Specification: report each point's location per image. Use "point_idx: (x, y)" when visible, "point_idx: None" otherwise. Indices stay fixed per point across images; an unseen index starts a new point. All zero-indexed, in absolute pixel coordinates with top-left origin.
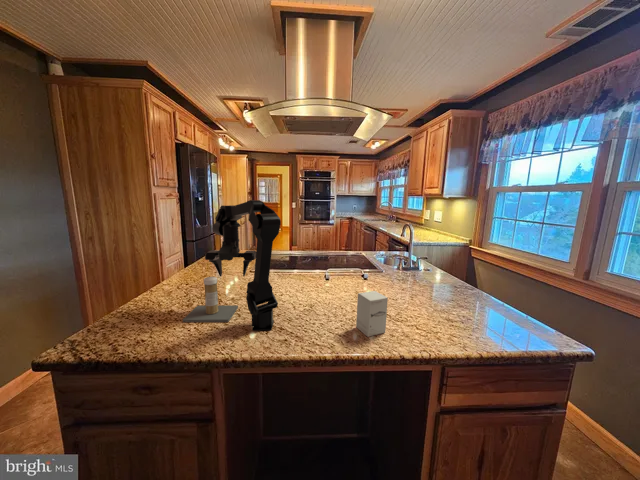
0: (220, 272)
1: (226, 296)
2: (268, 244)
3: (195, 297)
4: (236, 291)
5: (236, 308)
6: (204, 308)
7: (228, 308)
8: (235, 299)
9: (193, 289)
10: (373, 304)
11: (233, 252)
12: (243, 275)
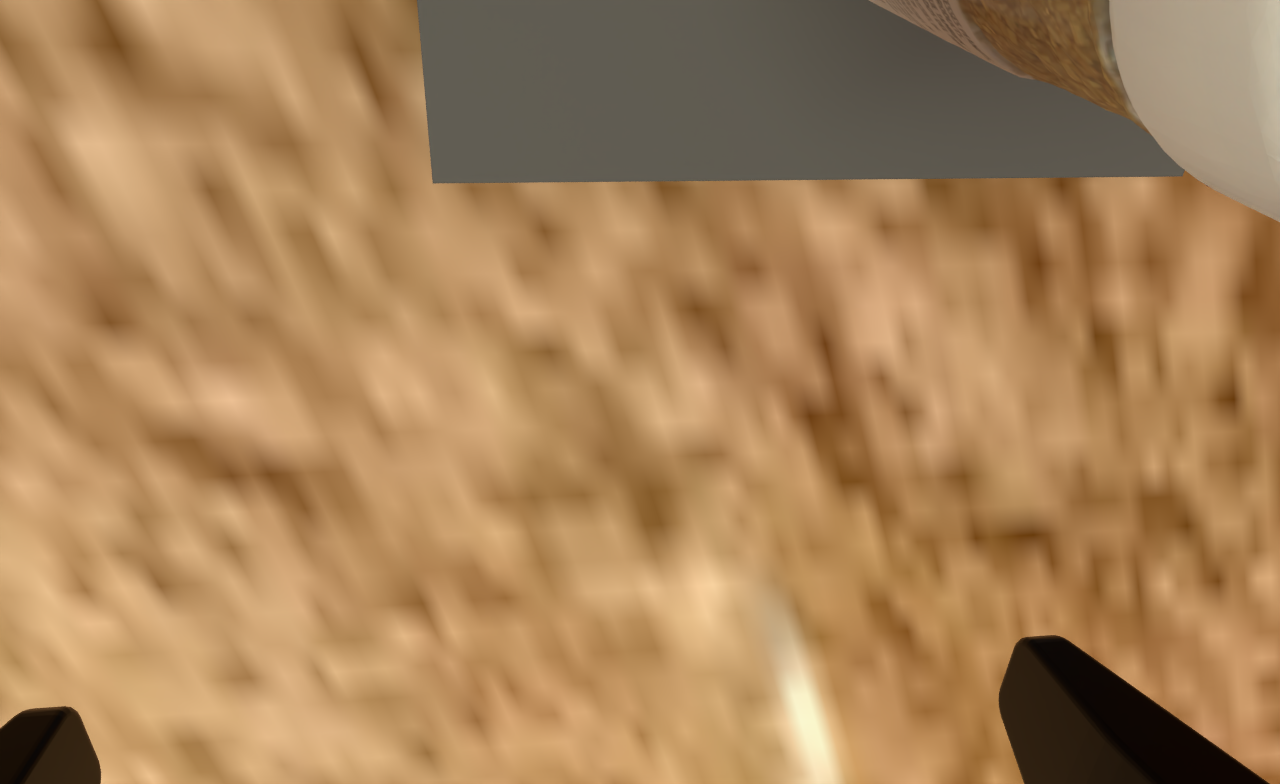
0: (1117, 765)
1: (775, 577)
2: None
3: (1216, 520)
4: (671, 729)
5: (425, 73)
6: None
7: (578, 32)
8: (601, 489)
9: (1255, 729)
10: None
11: None
12: (27, 734)
